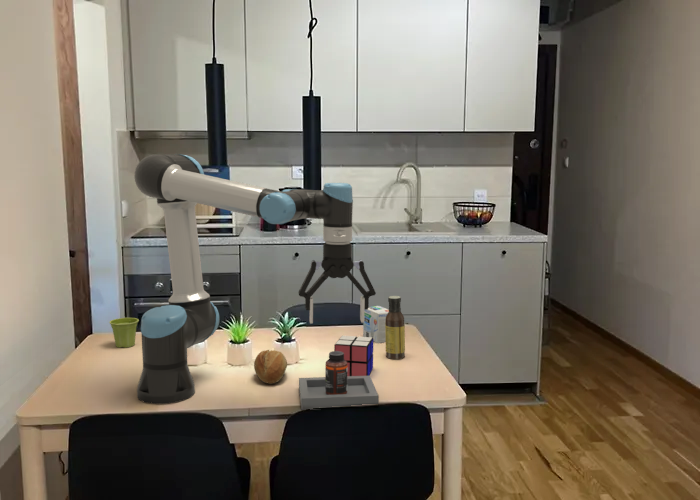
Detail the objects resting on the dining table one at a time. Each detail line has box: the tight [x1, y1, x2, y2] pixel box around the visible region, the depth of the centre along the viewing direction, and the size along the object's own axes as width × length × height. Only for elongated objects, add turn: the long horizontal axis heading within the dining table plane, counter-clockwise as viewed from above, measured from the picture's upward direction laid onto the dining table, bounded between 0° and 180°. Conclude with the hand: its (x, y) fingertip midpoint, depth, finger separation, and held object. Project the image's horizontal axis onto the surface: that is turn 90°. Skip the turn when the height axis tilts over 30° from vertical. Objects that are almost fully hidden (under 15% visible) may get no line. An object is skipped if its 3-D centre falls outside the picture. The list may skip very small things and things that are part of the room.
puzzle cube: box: [333, 335, 374, 376], centre depth 201 cm, size 10×10×10 cm
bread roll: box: [253, 349, 288, 385], centre depth 196 cm, size 10×15×8 cm, turn 5°
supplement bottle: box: [324, 351, 347, 395], centre depth 180 cm, size 6×6×11 cm
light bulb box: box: [362, 305, 389, 344], centre depth 238 cm, size 11×7×11 cm, turn 28°
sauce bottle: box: [385, 295, 406, 360], centre depth 216 cm, size 6×6×20 cm
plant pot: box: [108, 317, 140, 348], centre depth 228 cm, size 9×9×9 cm
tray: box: [298, 375, 380, 411], centre depth 181 cm, size 20×16×3 cm
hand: (336, 321), depth 178 cm, fingers open, 13 cm apart
